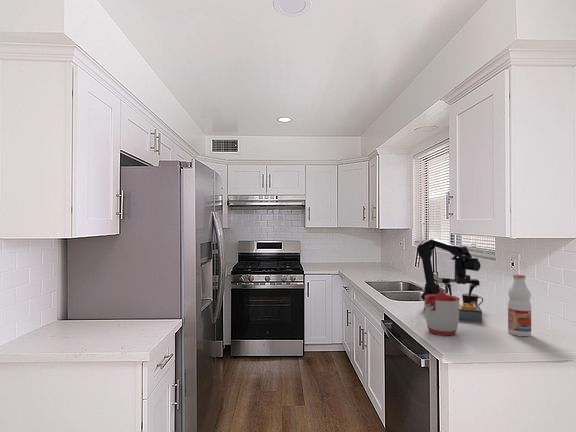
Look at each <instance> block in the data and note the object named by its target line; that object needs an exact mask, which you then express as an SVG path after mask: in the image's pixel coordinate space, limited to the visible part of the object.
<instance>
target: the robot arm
mask: <svg viewBox="0 0 576 432" xmlns="http://www.w3.org/2000/svg"><path fill="white" fill-rule="evenodd" d="M436 248H438V249H441V250H444V251H446V252H449V253H450V254H451V255H453V256H452V258H450V260H453V261H454V278H450V277H448V276H442V277H441V283H442V284H444V285H445V286H446V288H447V289H448V292H449V295H451V296H452V288H451V283H454V284H455V283H456V284H457V285H466V284H469V289H468V293H469V298H470V295H471V294H473V293H472V292H473V290H474V289H475V288H477V287H480V280H479V279H478V278H471V275H470V274H469V275H468V274H467V271H474V272H479V271H480V269H481V267H482V266H481V262H480V260H479V258H478V257H472V254H471V253H470V251H469V250H468V247H467V246H466V245H457V244H451V243H449V242H445V241H442V240H440V239H437V238H431V239H429V240H428V241H426V242H424V243H422V244H419V245H418V246H417V248H416V250H417V254H418V256H419V258H420V259H421V261H422V267H423V273H424V279H425V285H424V292H423V293H422V294H421V295H420V299H421V300H423V301H424V303H423V304H424V306H425V295H428V294H438V293H439V292H440V291H441V289H440V285H439V284H437V283H436V282H435V276H434V271H433V265H432V259H431V258H432V255H433V250H435V249H436ZM424 306H423V307H424ZM423 311H425V309H424V308H423Z"/></svg>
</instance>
